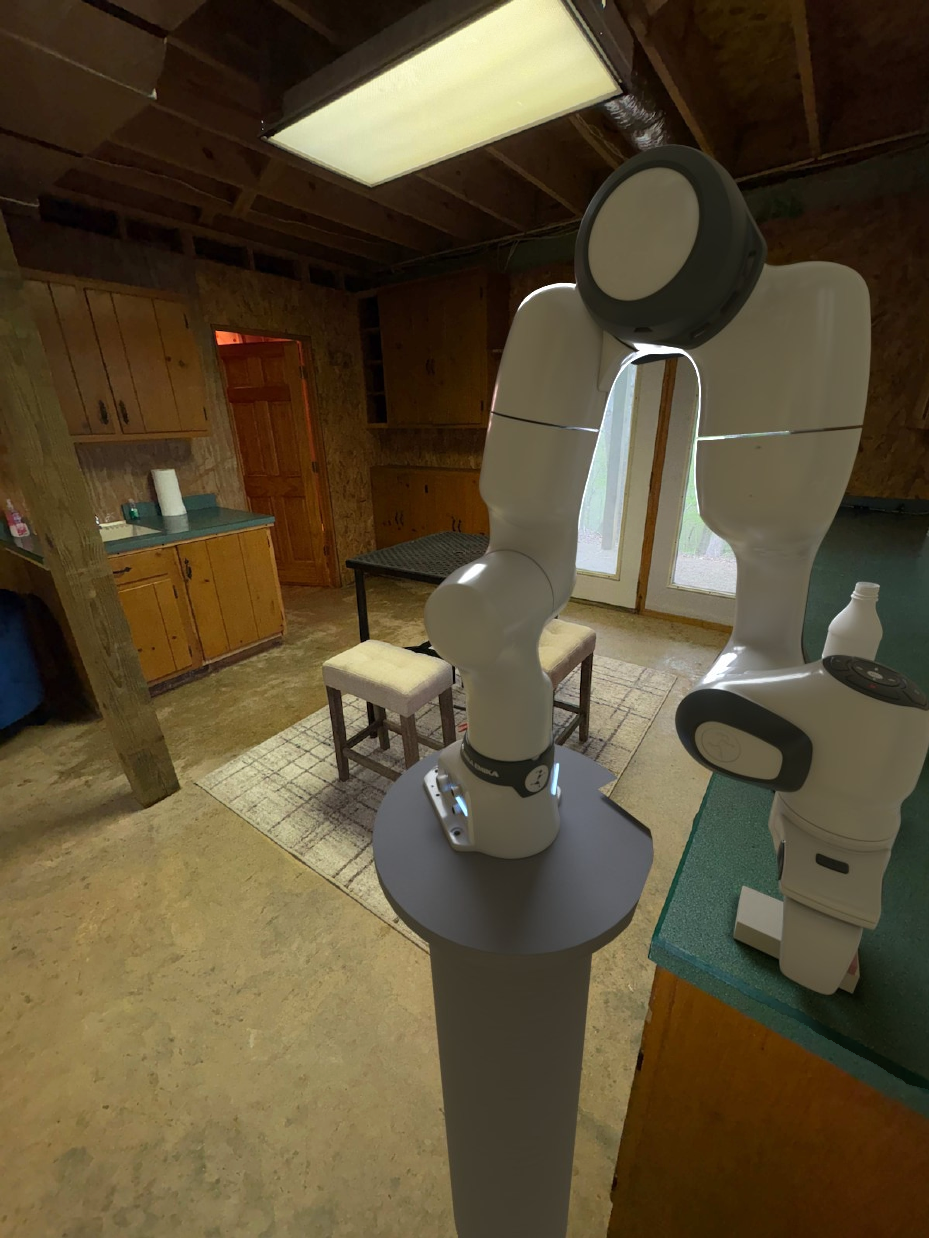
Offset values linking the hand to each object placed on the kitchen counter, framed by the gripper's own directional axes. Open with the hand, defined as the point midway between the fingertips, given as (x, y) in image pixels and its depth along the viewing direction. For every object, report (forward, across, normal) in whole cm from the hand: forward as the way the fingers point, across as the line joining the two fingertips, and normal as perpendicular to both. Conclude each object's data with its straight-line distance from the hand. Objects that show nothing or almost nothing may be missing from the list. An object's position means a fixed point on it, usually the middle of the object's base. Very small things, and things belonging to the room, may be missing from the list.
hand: (794, 931), depth 49 cm
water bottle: (+2, -52, +4) cm, 52 cm away
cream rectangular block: (+2, 0, 0) cm, 2 cm away
